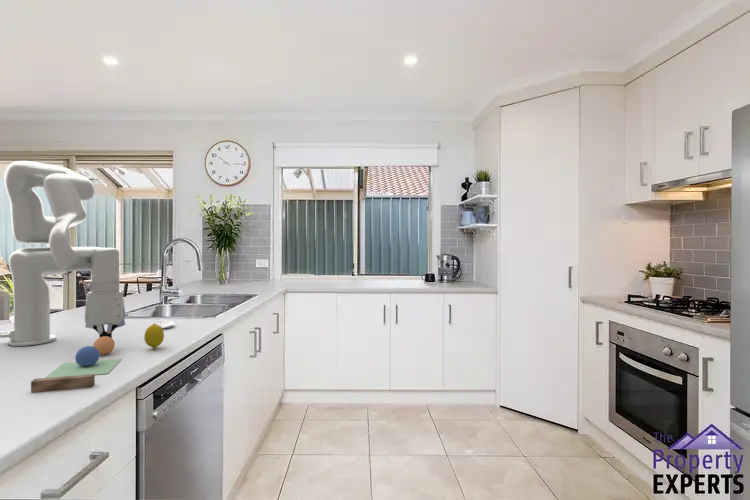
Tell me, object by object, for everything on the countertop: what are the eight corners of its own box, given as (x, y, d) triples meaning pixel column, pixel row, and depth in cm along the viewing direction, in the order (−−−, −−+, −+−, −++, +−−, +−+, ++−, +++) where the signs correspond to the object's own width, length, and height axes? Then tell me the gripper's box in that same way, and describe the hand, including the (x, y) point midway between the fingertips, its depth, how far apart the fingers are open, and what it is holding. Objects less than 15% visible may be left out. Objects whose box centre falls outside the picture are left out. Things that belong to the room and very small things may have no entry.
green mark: (43, 379, 107) (43, 378, 107) (64, 363, 120) (64, 362, 120) (108, 374, 111) (108, 373, 111) (121, 359, 124) (121, 358, 124)
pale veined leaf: (175, 323, 177) (175, 317, 176) (173, 331, 166) (172, 324, 165) (154, 325, 174) (153, 319, 174) (150, 334, 163) (150, 327, 162)
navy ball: (81, 352, 120) (76, 370, 117) (75, 343, 116) (70, 362, 113) (103, 350, 122) (99, 369, 119) (98, 341, 118) (94, 360, 115)
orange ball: (96, 336, 132) (92, 355, 130) (94, 334, 127) (90, 353, 125) (117, 337, 134) (113, 356, 132) (115, 335, 129) (112, 354, 127)
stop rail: (31, 392, 98) (30, 381, 97) (34, 389, 99) (34, 378, 99) (92, 387, 101) (92, 376, 101) (94, 384, 103) (94, 374, 103)
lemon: (155, 351, 134) (155, 325, 134) (140, 350, 135) (140, 325, 135) (167, 347, 139) (167, 322, 139) (152, 346, 140) (152, 321, 140)
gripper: (73, 289, 128) (73, 350, 129) (129, 287, 133) (130, 346, 133) (81, 286, 135) (81, 344, 136) (134, 285, 140) (135, 341, 140)
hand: (105, 345), depth 134 cm, fingers closed
